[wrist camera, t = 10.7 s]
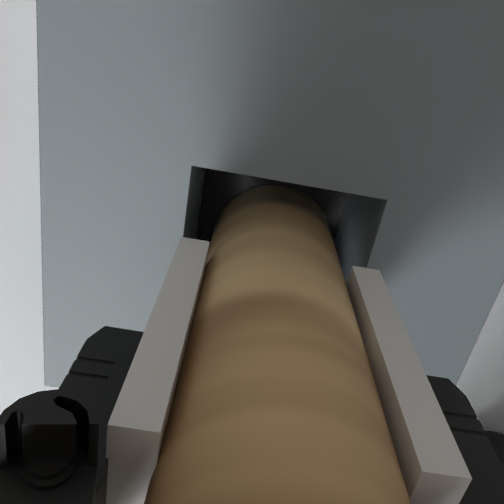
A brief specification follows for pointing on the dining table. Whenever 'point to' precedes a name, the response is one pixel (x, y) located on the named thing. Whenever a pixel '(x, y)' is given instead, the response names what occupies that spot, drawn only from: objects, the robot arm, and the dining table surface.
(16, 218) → the dining table surface
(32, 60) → the dining table surface
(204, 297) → the oak peg
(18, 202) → the dining table surface
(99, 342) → the robot arm
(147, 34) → the socket board
